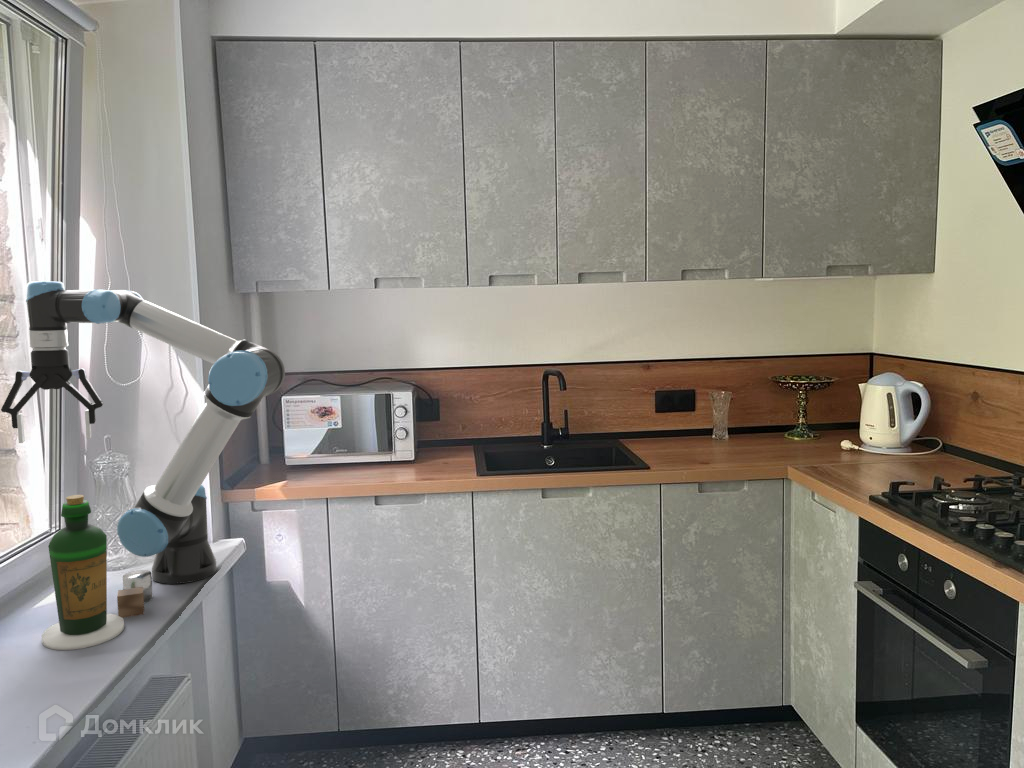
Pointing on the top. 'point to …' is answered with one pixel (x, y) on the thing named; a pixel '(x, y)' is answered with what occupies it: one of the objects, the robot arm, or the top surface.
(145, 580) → the metal tin
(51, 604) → the top surface
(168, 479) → the robot arm
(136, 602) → the walnut block
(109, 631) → the white round disc
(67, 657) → the top surface
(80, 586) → the bottle
